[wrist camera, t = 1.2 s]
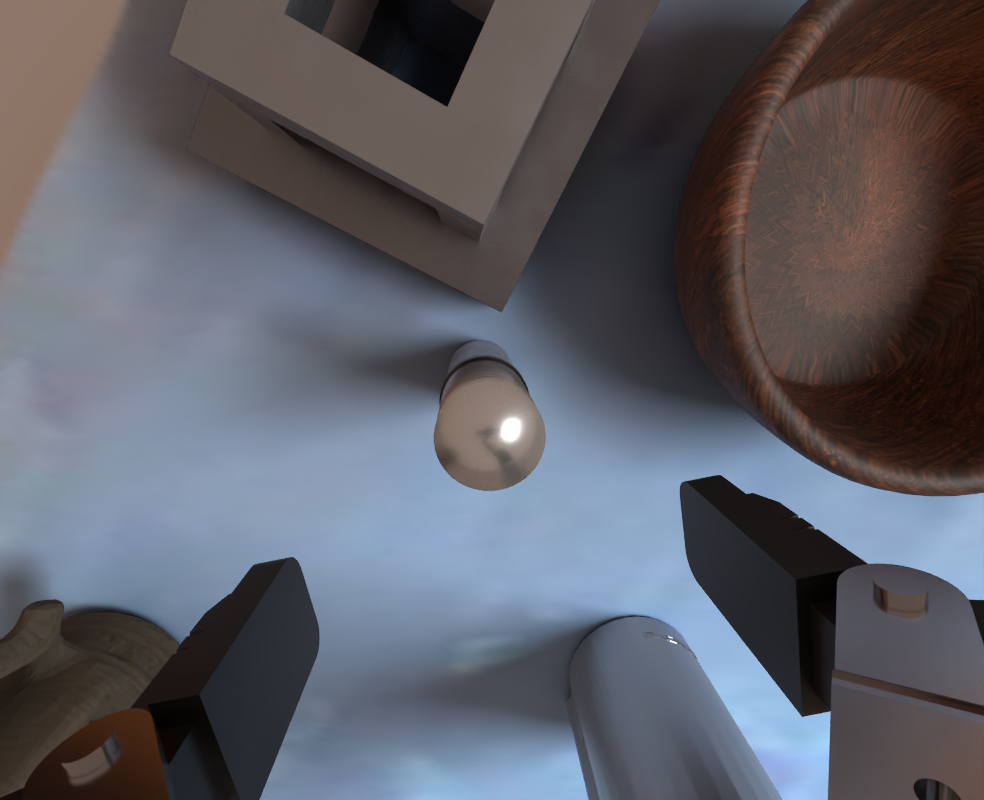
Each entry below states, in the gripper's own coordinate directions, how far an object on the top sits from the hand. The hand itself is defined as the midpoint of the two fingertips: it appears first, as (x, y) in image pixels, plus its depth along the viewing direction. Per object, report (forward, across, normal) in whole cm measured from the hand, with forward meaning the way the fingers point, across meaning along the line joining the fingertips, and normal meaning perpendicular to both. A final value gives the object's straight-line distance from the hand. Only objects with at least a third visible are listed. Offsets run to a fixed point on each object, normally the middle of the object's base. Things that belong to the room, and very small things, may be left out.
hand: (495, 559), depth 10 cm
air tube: (+22, 0, 0) cm, 22 cm away
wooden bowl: (+22, -23, -4) cm, 32 cm away
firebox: (+22, 0, -15) cm, 27 cm away
